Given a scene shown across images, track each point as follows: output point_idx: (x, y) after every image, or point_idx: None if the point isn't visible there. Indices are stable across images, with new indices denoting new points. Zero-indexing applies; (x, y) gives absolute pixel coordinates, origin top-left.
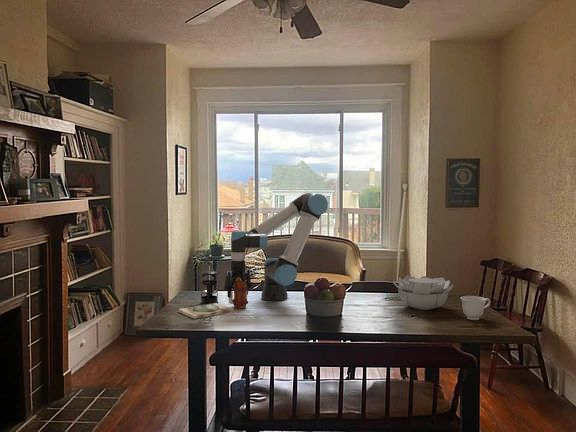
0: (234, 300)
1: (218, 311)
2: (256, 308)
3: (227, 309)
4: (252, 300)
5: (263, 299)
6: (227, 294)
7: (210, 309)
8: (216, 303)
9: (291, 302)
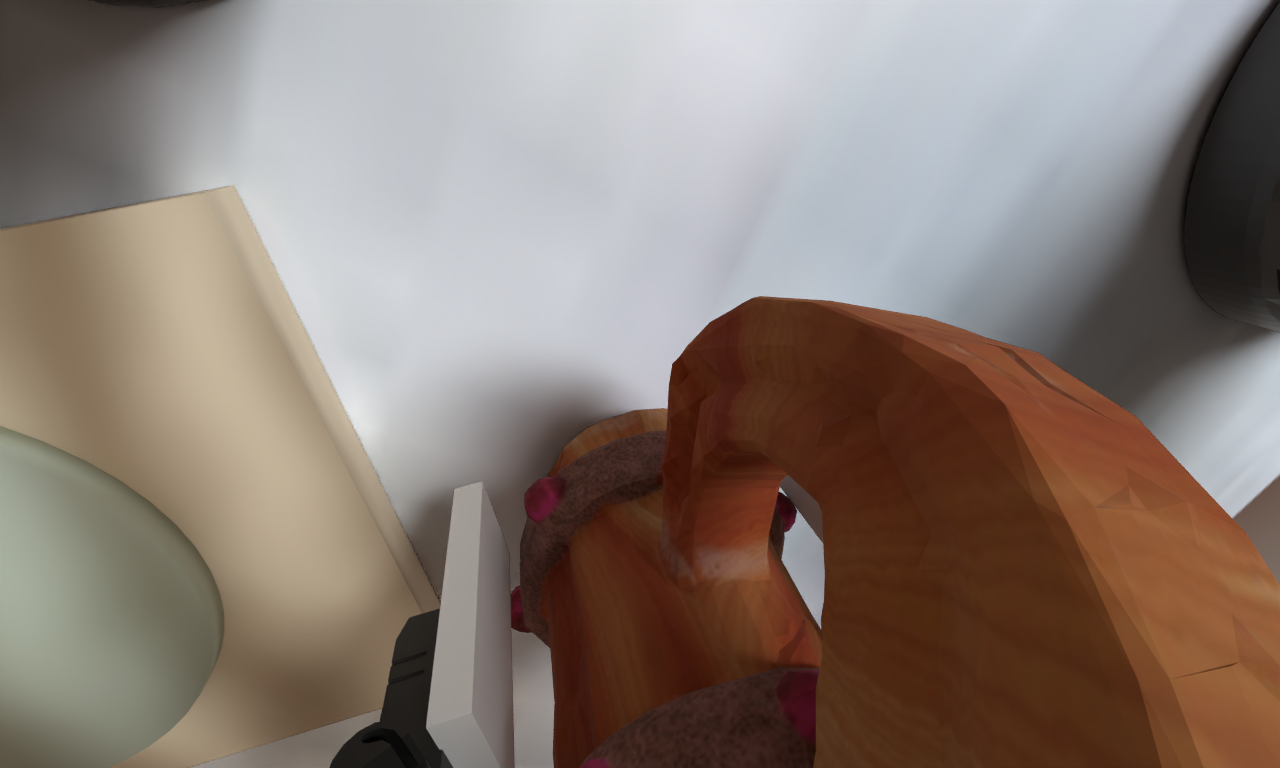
0: (546, 603)
1: (200, 756)
2: (795, 564)
3: (367, 689)
4: (1068, 78)
5: (1204, 145)
6: (388, 686)
7: (27, 756)
8: (212, 243)
9: (1245, 435)
